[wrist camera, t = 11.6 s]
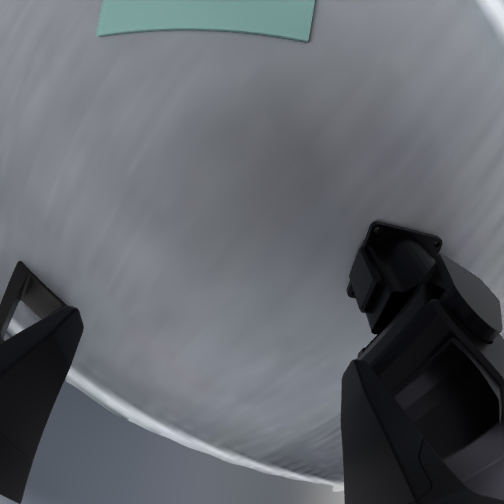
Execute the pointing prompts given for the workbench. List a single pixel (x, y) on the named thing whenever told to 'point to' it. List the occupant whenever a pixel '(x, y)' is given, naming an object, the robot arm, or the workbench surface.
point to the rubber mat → (209, 16)
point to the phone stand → (26, 297)
